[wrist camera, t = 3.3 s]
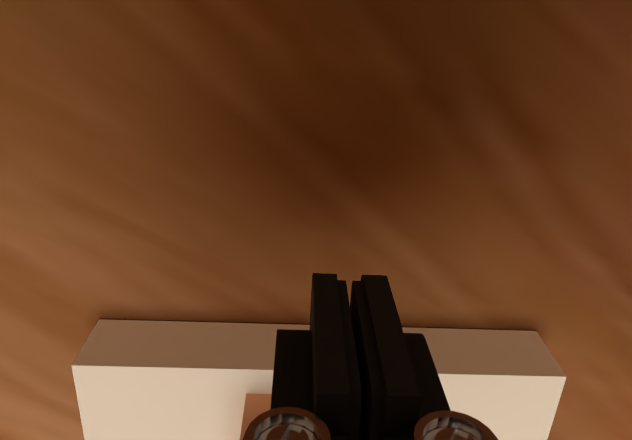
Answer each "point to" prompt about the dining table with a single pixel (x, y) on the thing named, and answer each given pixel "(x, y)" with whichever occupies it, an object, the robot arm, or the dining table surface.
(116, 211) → the dining table surface
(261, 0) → the dining table surface
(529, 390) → the deck
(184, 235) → the dining table surface
